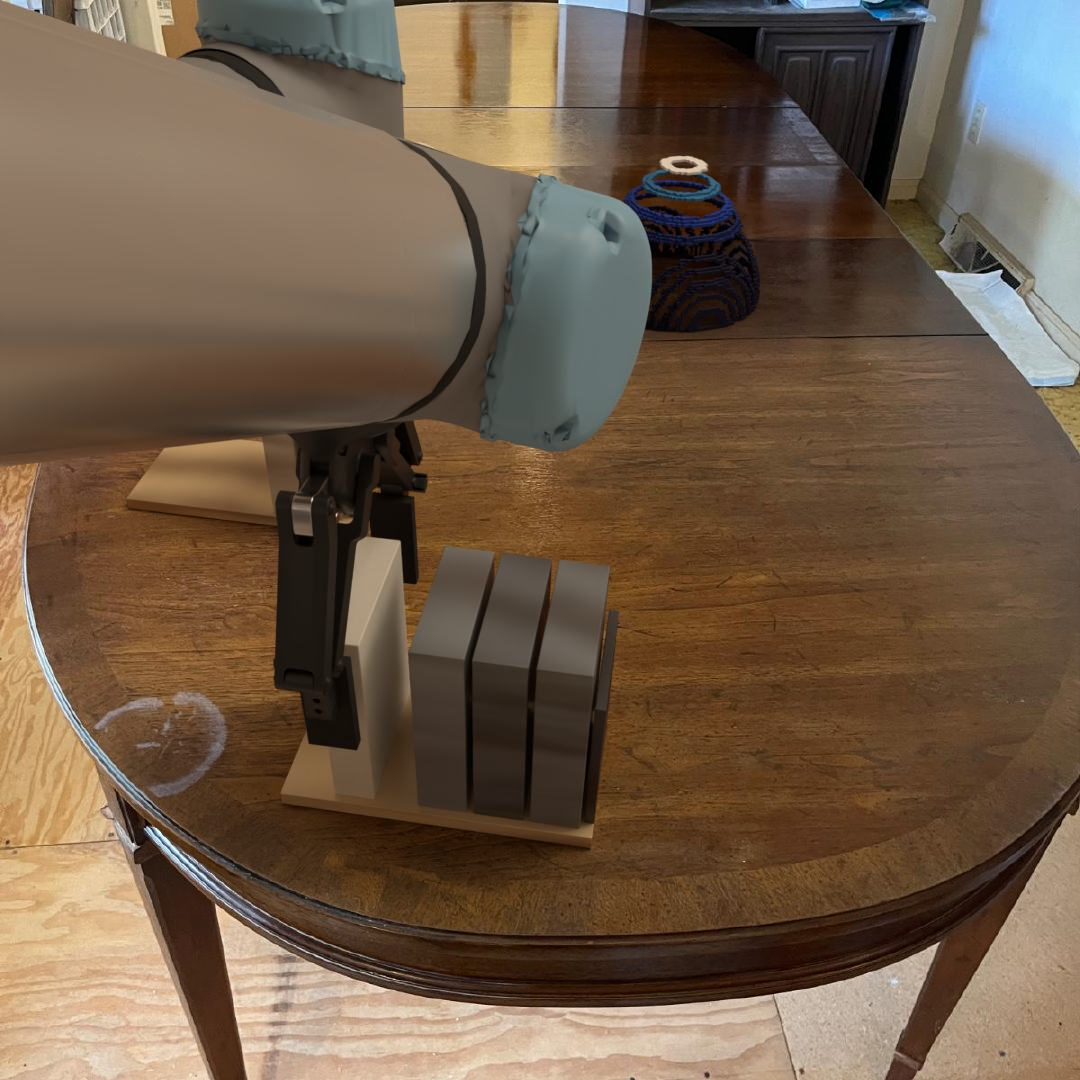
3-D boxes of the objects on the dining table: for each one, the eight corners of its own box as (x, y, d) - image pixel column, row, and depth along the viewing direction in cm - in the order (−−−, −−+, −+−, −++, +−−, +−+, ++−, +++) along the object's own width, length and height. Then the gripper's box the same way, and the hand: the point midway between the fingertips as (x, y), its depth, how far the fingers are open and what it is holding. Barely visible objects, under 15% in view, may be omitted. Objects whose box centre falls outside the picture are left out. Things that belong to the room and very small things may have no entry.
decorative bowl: (555, 263, 126) (560, 140, 117) (706, 244, 132) (722, 126, 123) (622, 342, 112) (634, 208, 102) (788, 317, 117) (813, 188, 108)
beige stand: (353, 535, 85) (338, 383, 76) (128, 508, 87) (87, 357, 78) (386, 465, 93) (375, 319, 84) (178, 441, 95) (146, 296, 86)
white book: (374, 800, 64) (358, 646, 56) (334, 794, 64) (312, 640, 56) (410, 691, 71) (400, 540, 63) (374, 686, 71) (359, 535, 63)
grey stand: (591, 848, 63) (608, 685, 54) (281, 803, 65) (249, 638, 56) (607, 721, 71) (624, 561, 62) (330, 684, 73) (309, 523, 64)
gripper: (333, 503, 40) (374, 839, 53) (466, 232, 59) (471, 530, 72) (141, 481, 40) (230, 818, 54) (334, 220, 59) (364, 517, 73)
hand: (368, 654), depth 63 cm, fingers open, 13 cm apart
